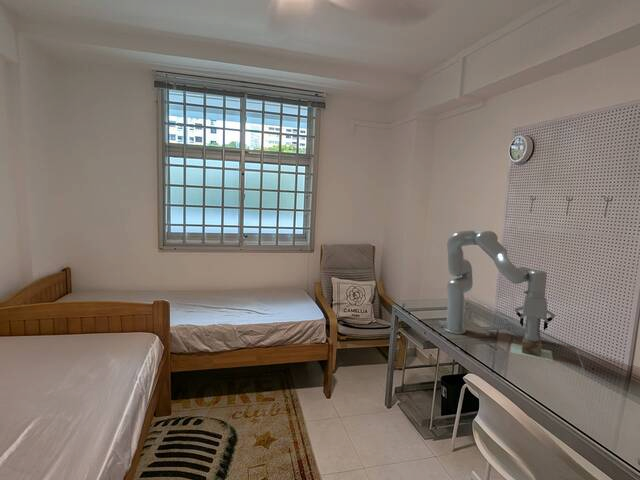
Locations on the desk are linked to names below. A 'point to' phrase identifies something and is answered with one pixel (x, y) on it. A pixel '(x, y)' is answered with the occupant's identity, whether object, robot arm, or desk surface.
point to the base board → (544, 355)
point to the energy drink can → (532, 329)
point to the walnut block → (531, 347)
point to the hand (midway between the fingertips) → (533, 327)
